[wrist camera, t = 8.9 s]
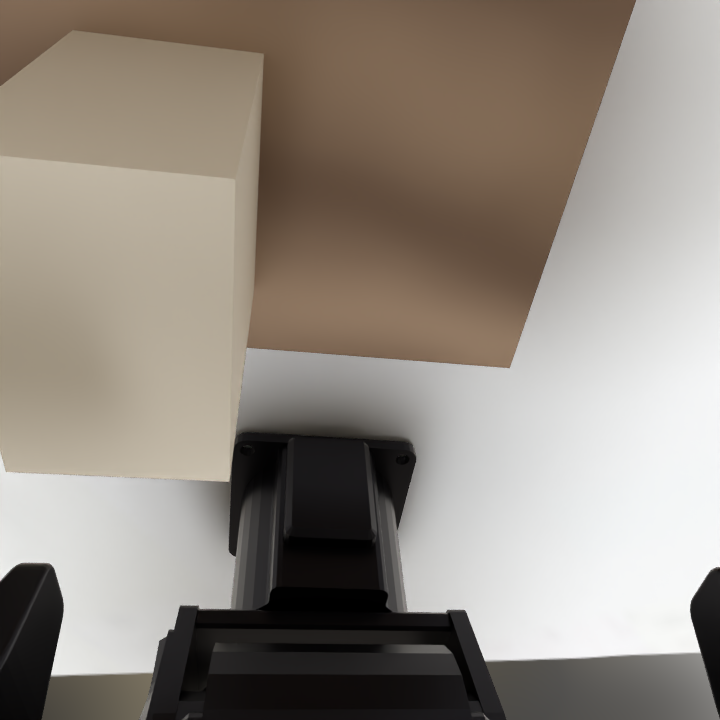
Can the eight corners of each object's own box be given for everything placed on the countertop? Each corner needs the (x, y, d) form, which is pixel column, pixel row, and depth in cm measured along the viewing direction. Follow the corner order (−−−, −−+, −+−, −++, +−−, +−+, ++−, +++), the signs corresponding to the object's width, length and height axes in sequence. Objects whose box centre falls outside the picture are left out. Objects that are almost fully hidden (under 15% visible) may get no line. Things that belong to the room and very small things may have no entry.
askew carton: (263, 53, 15) (235, 179, 9) (254, 288, 18) (229, 481, 13) (57, 28, 14) (-105, 144, 9) (89, 275, 18) (-12, 471, 12)
